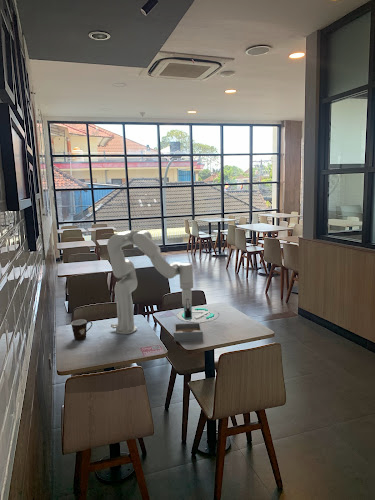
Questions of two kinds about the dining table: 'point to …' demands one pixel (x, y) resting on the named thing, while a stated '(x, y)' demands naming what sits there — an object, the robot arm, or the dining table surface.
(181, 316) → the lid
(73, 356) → the dining table surface
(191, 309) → the peg
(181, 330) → the bore box
